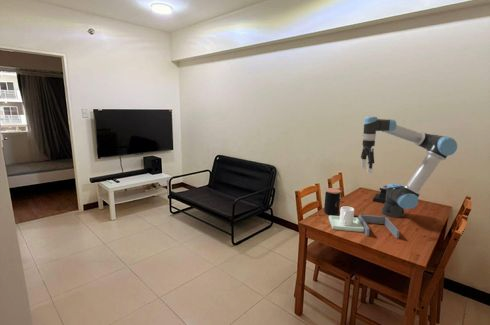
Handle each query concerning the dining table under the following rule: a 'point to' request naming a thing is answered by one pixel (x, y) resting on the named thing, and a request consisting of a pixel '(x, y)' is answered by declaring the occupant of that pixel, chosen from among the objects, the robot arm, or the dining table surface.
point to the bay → (379, 220)
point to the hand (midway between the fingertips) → (366, 170)
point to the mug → (346, 215)
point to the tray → (338, 226)
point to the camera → (381, 195)
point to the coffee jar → (332, 201)
